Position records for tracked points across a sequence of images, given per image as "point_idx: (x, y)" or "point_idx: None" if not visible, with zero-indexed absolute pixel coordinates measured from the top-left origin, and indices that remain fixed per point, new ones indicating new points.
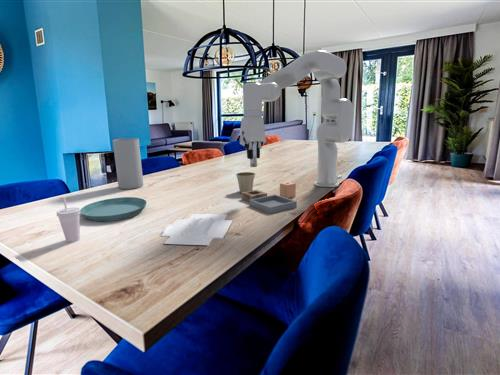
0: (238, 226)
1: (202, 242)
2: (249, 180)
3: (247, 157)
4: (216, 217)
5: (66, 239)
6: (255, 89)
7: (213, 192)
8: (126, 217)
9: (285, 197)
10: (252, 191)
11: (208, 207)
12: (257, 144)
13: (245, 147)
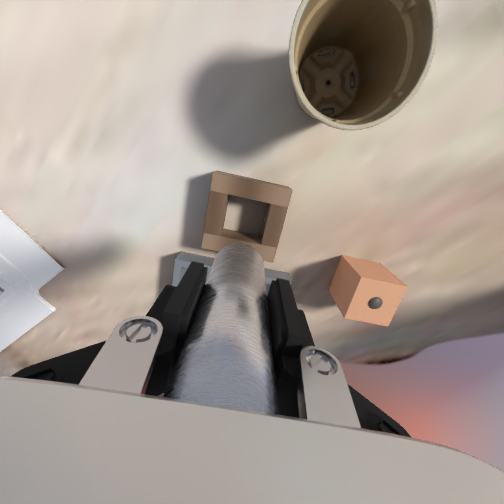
0: (49, 341)
1: None
2: (326, 117)
3: (190, 265)
4: (24, 263)
5: None
6: None
7: None
8: None
9: (331, 283)
10: (256, 199)
11: (50, 152)
12: (336, 410)
13: (87, 356)
